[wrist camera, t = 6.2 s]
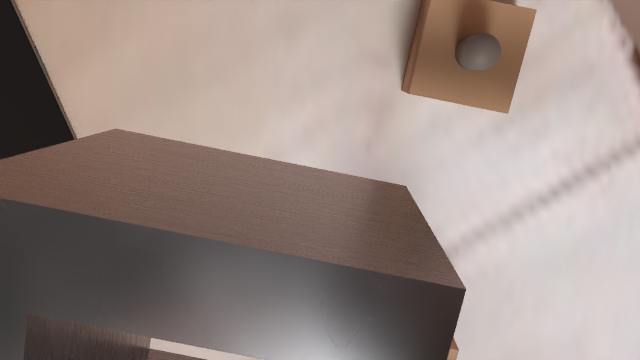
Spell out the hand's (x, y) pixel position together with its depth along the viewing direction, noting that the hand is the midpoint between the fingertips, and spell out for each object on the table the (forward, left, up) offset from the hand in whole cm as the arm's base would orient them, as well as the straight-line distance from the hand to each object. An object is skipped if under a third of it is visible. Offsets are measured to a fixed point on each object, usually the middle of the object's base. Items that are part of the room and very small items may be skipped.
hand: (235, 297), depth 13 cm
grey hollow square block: (0, 0, 0) cm, 0 cm away
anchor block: (-8, +8, -17) cm, 21 cm away
